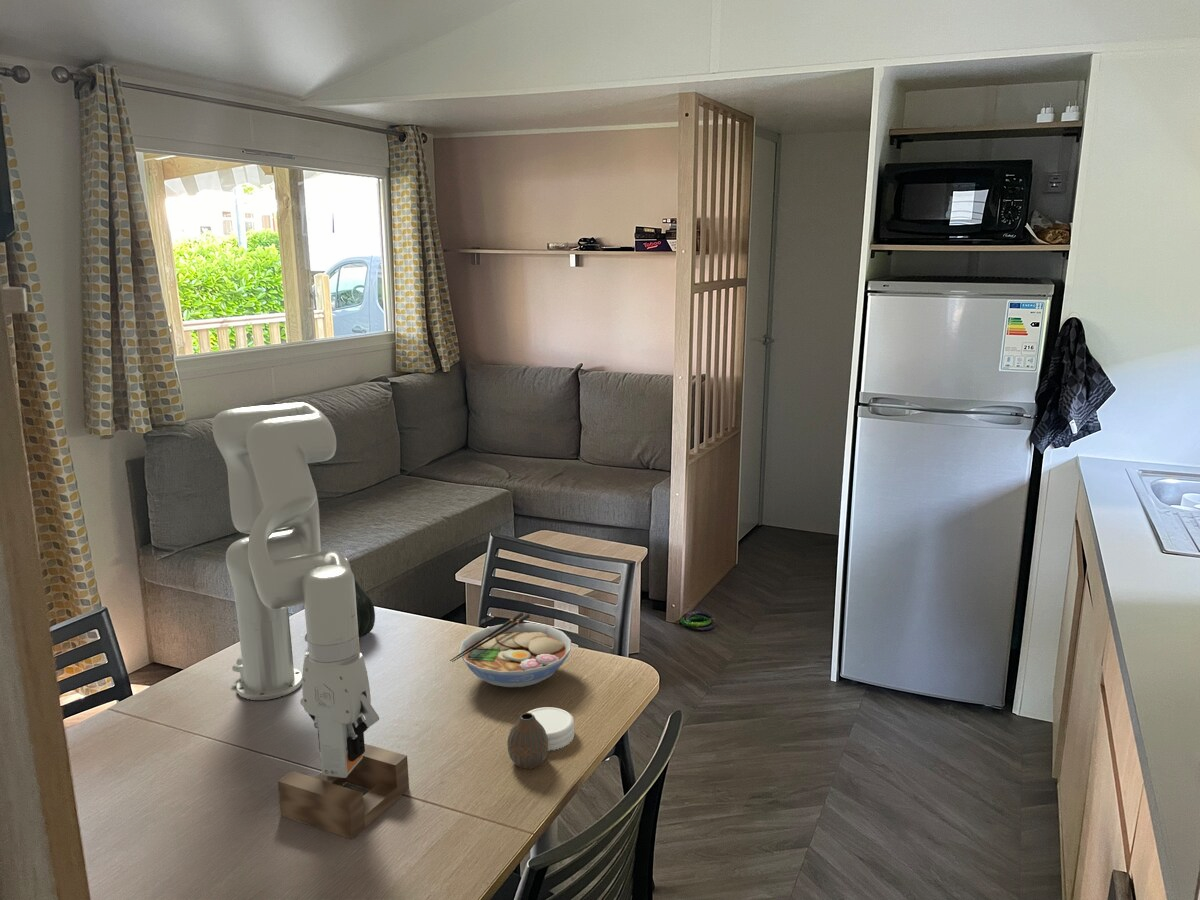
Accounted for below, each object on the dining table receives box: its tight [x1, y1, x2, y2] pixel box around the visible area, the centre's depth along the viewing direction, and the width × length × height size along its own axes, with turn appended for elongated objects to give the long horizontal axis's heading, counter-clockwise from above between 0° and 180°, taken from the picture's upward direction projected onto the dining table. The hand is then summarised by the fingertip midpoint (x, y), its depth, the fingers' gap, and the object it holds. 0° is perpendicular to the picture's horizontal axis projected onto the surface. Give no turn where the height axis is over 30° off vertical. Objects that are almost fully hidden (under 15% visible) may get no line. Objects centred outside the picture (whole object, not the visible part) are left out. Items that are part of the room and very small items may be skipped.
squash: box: [354, 578, 376, 638], centre depth 201 cm, size 14×15×15 cm
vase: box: [506, 712, 548, 770], centre depth 152 cm, size 7×7×9 cm
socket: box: [277, 743, 410, 840], centre depth 142 cm, size 14×14×6 cm
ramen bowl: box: [449, 612, 572, 688], centre depth 181 cm, size 25×23×8 cm
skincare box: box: [317, 705, 363, 778], centre depth 140 cm, size 6×4×12 cm
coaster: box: [526, 706, 575, 752], centre depth 161 cm, size 10×10×4 cm
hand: (342, 751), depth 141 cm, fingers closed on skincare box, 5 cm apart
